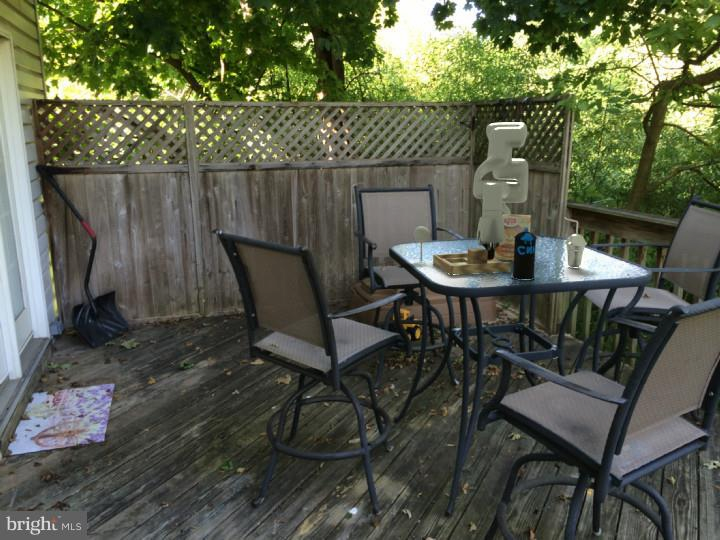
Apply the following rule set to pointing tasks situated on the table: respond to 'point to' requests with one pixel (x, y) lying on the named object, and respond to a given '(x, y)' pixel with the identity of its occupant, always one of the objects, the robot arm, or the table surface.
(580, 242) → the cup with straw
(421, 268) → the table surface
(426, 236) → the lollipop
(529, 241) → the aerosol can
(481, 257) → the block
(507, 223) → the coffeecake box
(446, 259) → the tray
